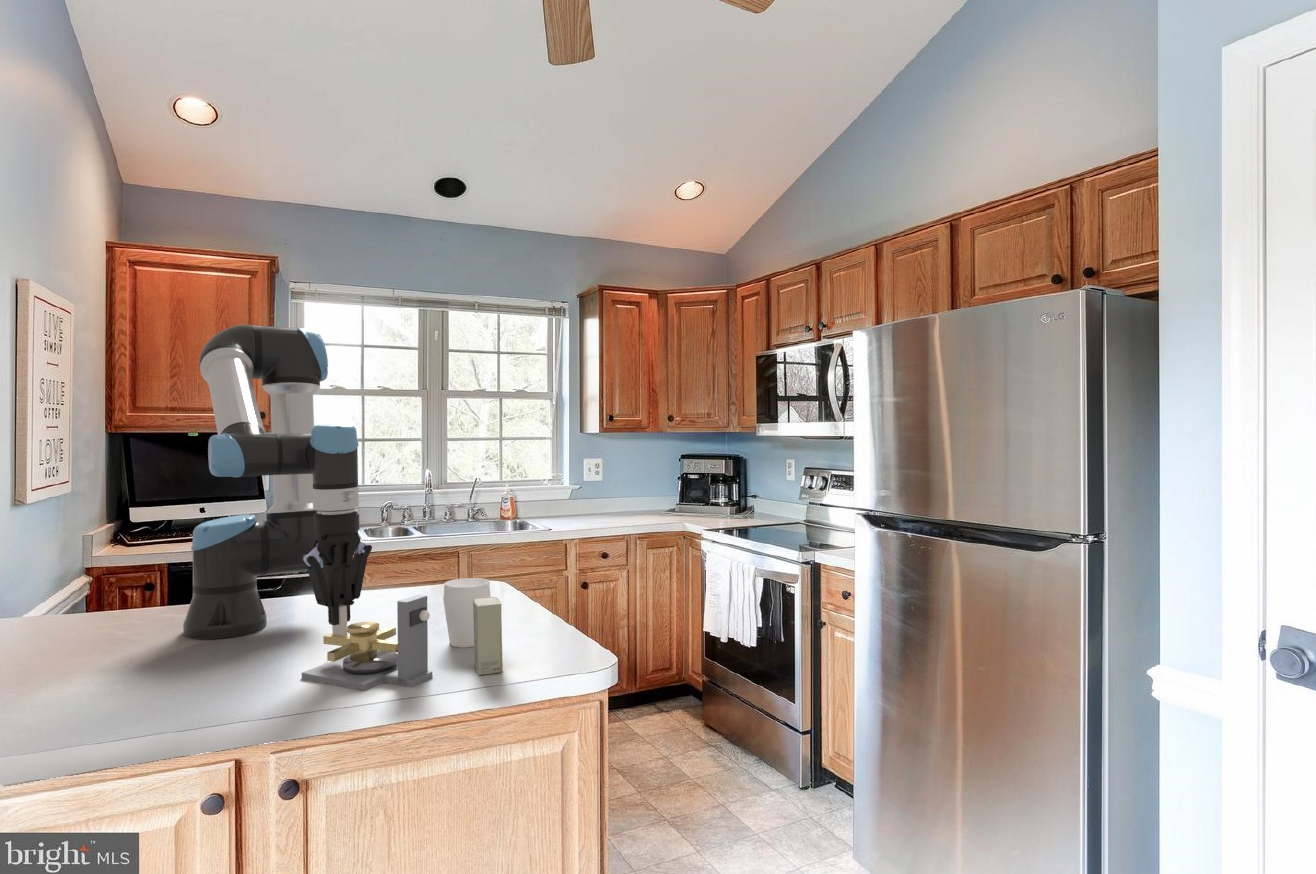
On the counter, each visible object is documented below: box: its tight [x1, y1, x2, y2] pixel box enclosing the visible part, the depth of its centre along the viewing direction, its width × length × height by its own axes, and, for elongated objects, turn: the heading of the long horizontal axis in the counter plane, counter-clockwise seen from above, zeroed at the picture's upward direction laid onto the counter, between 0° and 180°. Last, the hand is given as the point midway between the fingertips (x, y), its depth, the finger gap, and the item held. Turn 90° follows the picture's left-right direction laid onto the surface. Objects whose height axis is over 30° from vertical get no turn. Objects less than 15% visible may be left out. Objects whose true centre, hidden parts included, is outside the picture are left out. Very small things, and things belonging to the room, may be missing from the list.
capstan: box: [322, 621, 398, 674], centre depth 132 cm, size 17×16×7 cm
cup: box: [442, 577, 491, 649], centre depth 149 cm, size 9×9×12 cm
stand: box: [301, 594, 433, 692], centre depth 131 cm, size 20×14×14 cm
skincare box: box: [473, 596, 504, 676], centre depth 134 cm, size 6×4×12 cm
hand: (340, 641), depth 135 cm, fingers closed
